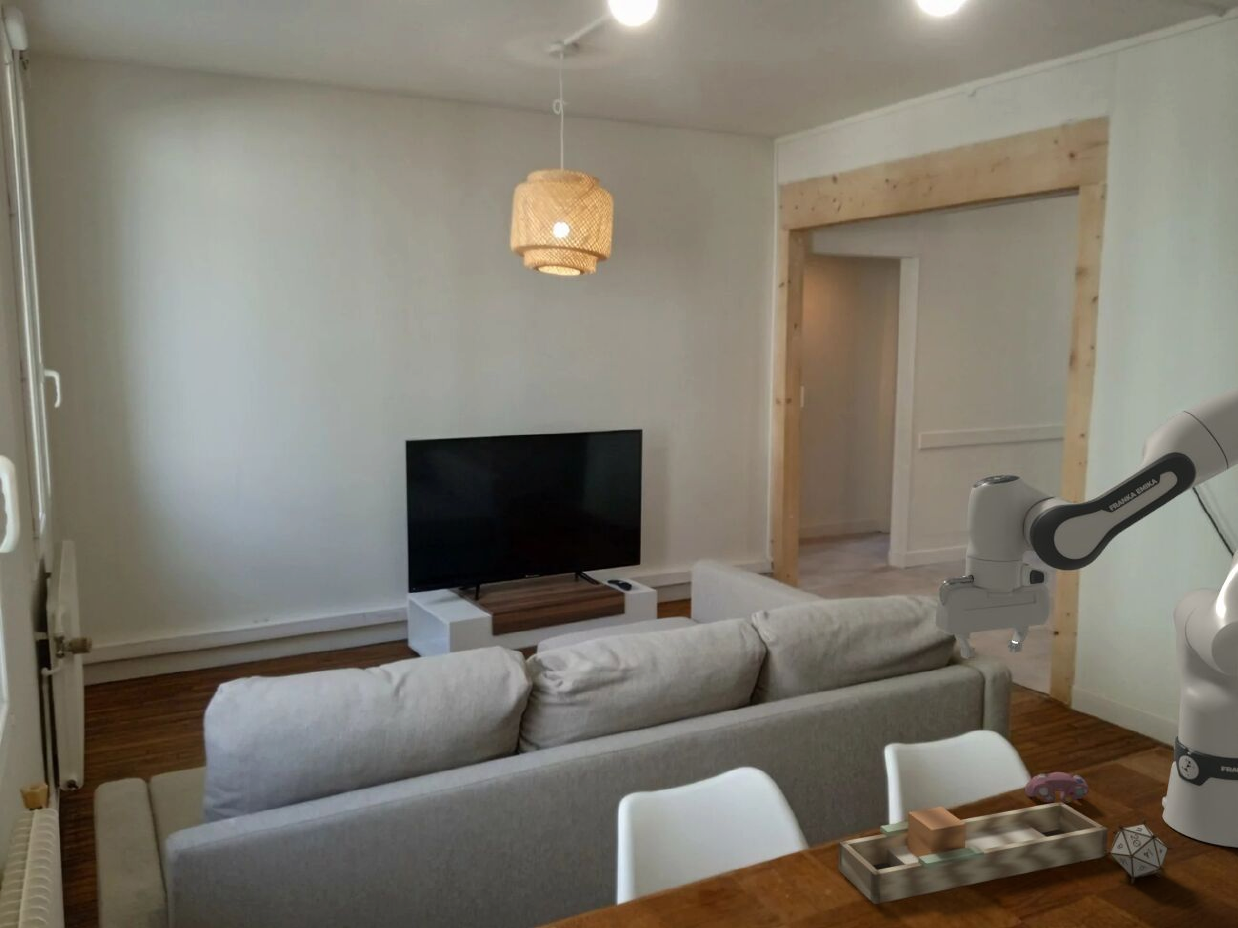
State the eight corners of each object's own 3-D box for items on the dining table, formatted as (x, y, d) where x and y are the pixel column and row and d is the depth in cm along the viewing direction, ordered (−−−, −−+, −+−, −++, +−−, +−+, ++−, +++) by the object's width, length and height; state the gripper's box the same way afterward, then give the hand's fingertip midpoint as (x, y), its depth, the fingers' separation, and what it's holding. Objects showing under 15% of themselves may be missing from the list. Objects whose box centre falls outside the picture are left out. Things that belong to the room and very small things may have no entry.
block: (940, 842, 152) (941, 806, 152) (964, 861, 147) (965, 823, 146) (907, 848, 151) (908, 812, 150) (930, 868, 145) (931, 829, 144)
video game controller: (1028, 810, 172) (1035, 784, 168) (1022, 789, 176) (1028, 763, 172) (1086, 812, 171) (1095, 786, 167) (1079, 791, 175) (1087, 765, 171)
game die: (1150, 903, 146) (1188, 873, 139) (1094, 879, 147) (1129, 848, 141) (1147, 852, 153) (1182, 820, 146) (1093, 829, 154) (1126, 797, 147)
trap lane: (1055, 824, 163) (1056, 794, 163) (1111, 859, 152) (1112, 826, 151) (834, 866, 150) (835, 833, 150) (878, 907, 139) (878, 872, 138)
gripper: (952, 582, 154) (950, 666, 156) (1057, 572, 160) (1054, 653, 162) (928, 574, 160) (926, 655, 162) (1030, 565, 166) (1027, 643, 168)
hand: (991, 654), depth 162 cm, fingers open, 8 cm apart
